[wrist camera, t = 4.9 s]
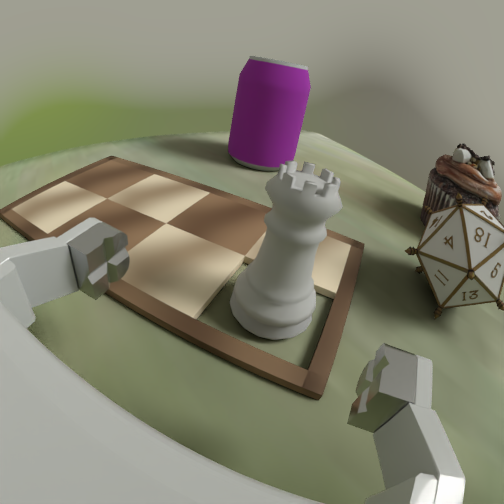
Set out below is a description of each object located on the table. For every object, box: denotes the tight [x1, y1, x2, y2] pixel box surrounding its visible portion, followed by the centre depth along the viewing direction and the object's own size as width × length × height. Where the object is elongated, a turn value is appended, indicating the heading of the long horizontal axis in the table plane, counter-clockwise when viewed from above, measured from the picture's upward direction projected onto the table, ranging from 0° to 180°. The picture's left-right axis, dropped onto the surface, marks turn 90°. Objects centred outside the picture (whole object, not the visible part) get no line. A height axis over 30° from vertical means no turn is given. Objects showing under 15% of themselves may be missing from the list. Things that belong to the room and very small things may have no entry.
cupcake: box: [421, 144, 502, 227], centre depth 28 cm, size 10×10×10 cm
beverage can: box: [228, 56, 310, 171], centre depth 32 cm, size 8×8×12 cm
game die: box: [405, 193, 504, 319], centre depth 18 cm, size 9×8×10 cm
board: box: [0, 156, 364, 400], centre depth 21 cm, size 26×14×1 cm, turn 66°
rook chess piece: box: [230, 161, 342, 340], centre depth 14 cm, size 4×4×8 cm
